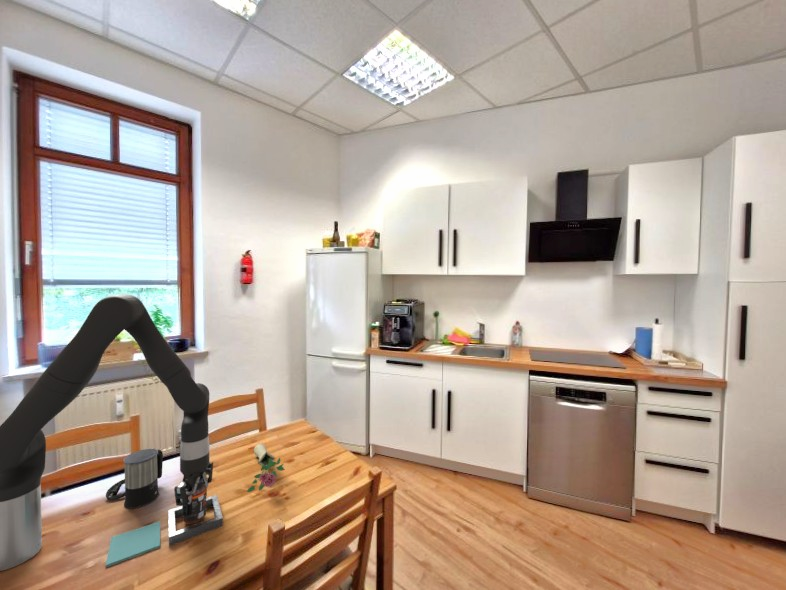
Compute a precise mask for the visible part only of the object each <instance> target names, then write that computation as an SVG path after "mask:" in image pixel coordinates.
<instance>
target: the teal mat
mask: <svg viewBox="0 0 786 590" xmlns="http://www.w3.org/2000/svg"><path fill="white" fill-rule="evenodd" d="M109 543H110V544H109V548H108V553H107V556H106V561H105V568H108V567H111V566H113V565H116V564H119V563H122V562H124V560H125V561H127V560H129V559H133V558H135V557H138V556H140V555H143V554H146V553H148V552H151V551H154V550H156V549H159V548H161V520H160V521H159V520H158V521H155V522H154V523H150V524H148V525H144V526H141V527H138V528H135V529H133V530H129V531H125V532H123V533H120V534H118V535H115V536H112V537H111V538H110V542H109ZM121 561H122V562H121Z"/></svg>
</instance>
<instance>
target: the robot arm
mask: <svg viewBox="0 0 786 590" xmlns="http://www.w3.org/2000/svg"><path fill="white" fill-rule="evenodd" d="M124 330H125V332H127V334H129V335H130V336H131V337H132V338H133V339H134V341H135V342H136V343H137V345H138V346H139V348H140V350H141V353H142V355H143V357H144V359H145V361H146V364H147V365H148V367H149V368H150V369H151V371H152V372H153V374H154V375H155V376H156V377H157V378H158V379H159V380H160V382H161V383H162V384H163V385H164V386H165V387H166V388H167V390H168V392H169V394H170V396H171V398H172V399H173V400H174V403H175V404H176V405H177V407H178V408H179V409H180V410H182V412H183V419H182V421H181V425H180V426H181V427H180V447H179V470H180V473H181V474H182V475H183V478H182V482H181V483H180V485H175V486H174V498H175V506H177V507H180V506H182V510H183V511H182V514H183V516H190V515H191V514H192V502H191V501H192V497H193V495H194V494H195V492H196V488H197V484H198V483H199V480H200V479H203V484H205V485H206V497H207V495H208V493H207V492H208V491H207V488H208V487H209V484H211V483H212V482H213V481H212V480H213V472H214V462H211V461H210V438H209V407H210V391H209V388H208V387H207V385H205V384H203V383H199V382H197V383H196V381H194V379H193V377H192V374H191V370H190V369H189V368H188V366H187V365H186V364H185V362H183V360H182V359H181V357H180V356H179V355H178V354H177V353H176V352H175V350H174V349H173V348H172V347H171V346H170V344H168V342H167V340H166V339H165V337H164V336H163V335H162V333H161V332H160V330H159V329H158V327H157V326H156V324H155V323H154V321H153V319H152V317H151V315H150V313H149V312H148V309H147V308H146V307H145V305H144V304H143V302H142V300H141V299H140V298H138V297H137V296H135V295H133V294H129V293H128V294H126V293H124V294H123V293H121V294H114V295H108V296H106V297H104V298H102V299H100V300H99V301H97V302H96V304H94V306H93V307H92V309H91V311H90V312H89V314H88V315H87V317H86V319H85V320H84V322H83V324H81V327H80V328H79V330H78V331H77V333H76V334H75V335H74V337H73V338H72V339H71V340H70V341H69V342H68V344H66V346H65V347H64V348H63V349H62V350H61V351H60V353H58V355H57V356H56V357H55V358H54V360H52V362H51V363H50V364H49V365H48V367H46V369H45V370H44V371H43V373H42V374H41V375H40V376H39V378H38V379H37V380H36V381H35V383H34V384H33V386H32V387H31V388H30V389H29V390H28V392H27V393H26V394H25V396H24V397H23V398H22V399H21V401H19V403H18V405H17V406H16V407H15V409H14V410H13V411H12V413H11V414H10V415H9V416H8V417H7V418H6V419H5V421H3V422H2V424H0V572H1V571H6V570H8V569H12V568H14V567H17V566H19V565H21V564H23V563H25V562H27V561H29V560H30V559H31V558H34V557H35V556H36V555H37V554H38V553H39V552H40V551H41V549H42V547H43V536H42V535H43V533H42V531H43V528H42V521H43V520H42V483H41V482H42V476H43V474H44V472H45V468H46V457H47V456H46V453H47V442H46V441H47V440H46V435H45V432H43V430H42V429H44V427H45V426H47V424H48V423H49V422H50V421H52V420H53V419H54V418H56V416H58V414H60V413H61V412H62V411H63V410H64V409H66V408H67V407H68V406H69V405H70V404H71V403H72V402H73V401H75V399H76V398H77V397H78V396H79V395H80V394H81V393H82V391H83V390H84V389H85V388H86V387H87V385H88V384H89V383H90V382H91V380H92V379H93V377H94V376H95V374H96V373H97V370H98V369H99V366H100V363H101V361H102V358H103V356H104V353H105V351H106V350H107V348H108V347H109V346H110V345H111V344H112V343H113V341H114V340H115V339H116V338H118V336H120V334H121V333H122V332H124ZM207 476H208V477H207ZM187 489H192V491H187ZM187 494H188V495H189V498H188V499H187V496H186V495H187Z"/></svg>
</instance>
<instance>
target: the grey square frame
mask: <svg viewBox="0 0 786 590" xmlns="http://www.w3.org/2000/svg"><path fill="white" fill-rule="evenodd" d="M208 508H209V509H210V508H212V511H213V516H214V517H212V518H209V519H207V520H204V521H200V522H199V523H198V522H197V523H194V524H193V525H192V524H191V525H190V526H187V527H184V528H181V529H179V530H176V520H177V519H180V518H183V514H182V511H183V510H182V506H177V507H174V508H171V509H168V512H167V513H168V547H171V546H174V545H176V544H179V543H182V542H185V541H187V540H190V539H192V538H195V537H197V536H200V535H204V534H206V533H209V532H211V531H213V530H217V529H218V528H221V527H223V526H224V525H223V524H224V522H223V521H224V519H223V513H222V510H221V506H220V502H219V498H218V495H217V494H215V495H212V496H208V497H206V509H208Z"/></svg>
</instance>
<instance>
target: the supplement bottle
mask: <svg viewBox="0 0 786 590" xmlns="http://www.w3.org/2000/svg"><path fill="white" fill-rule="evenodd" d="M187 491H192V489H187ZM186 496H187V499H188V498H189V495H188V494H187V495H186ZM206 498H207V496H206V485H205V484H203V479H200V480H199V483H198V484H197V488H196V492H195V494H194V495H193V497H192V501H191V502H192V514H191V515H190V516H183V517H182V519H183V522H184V523H185V524H186V525H192V524H193V525H194V524H197V523H198V522H199V523H200V522H201V521H202V520H203V519H204V518H205V517H206V515H207V508H206Z"/></svg>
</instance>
